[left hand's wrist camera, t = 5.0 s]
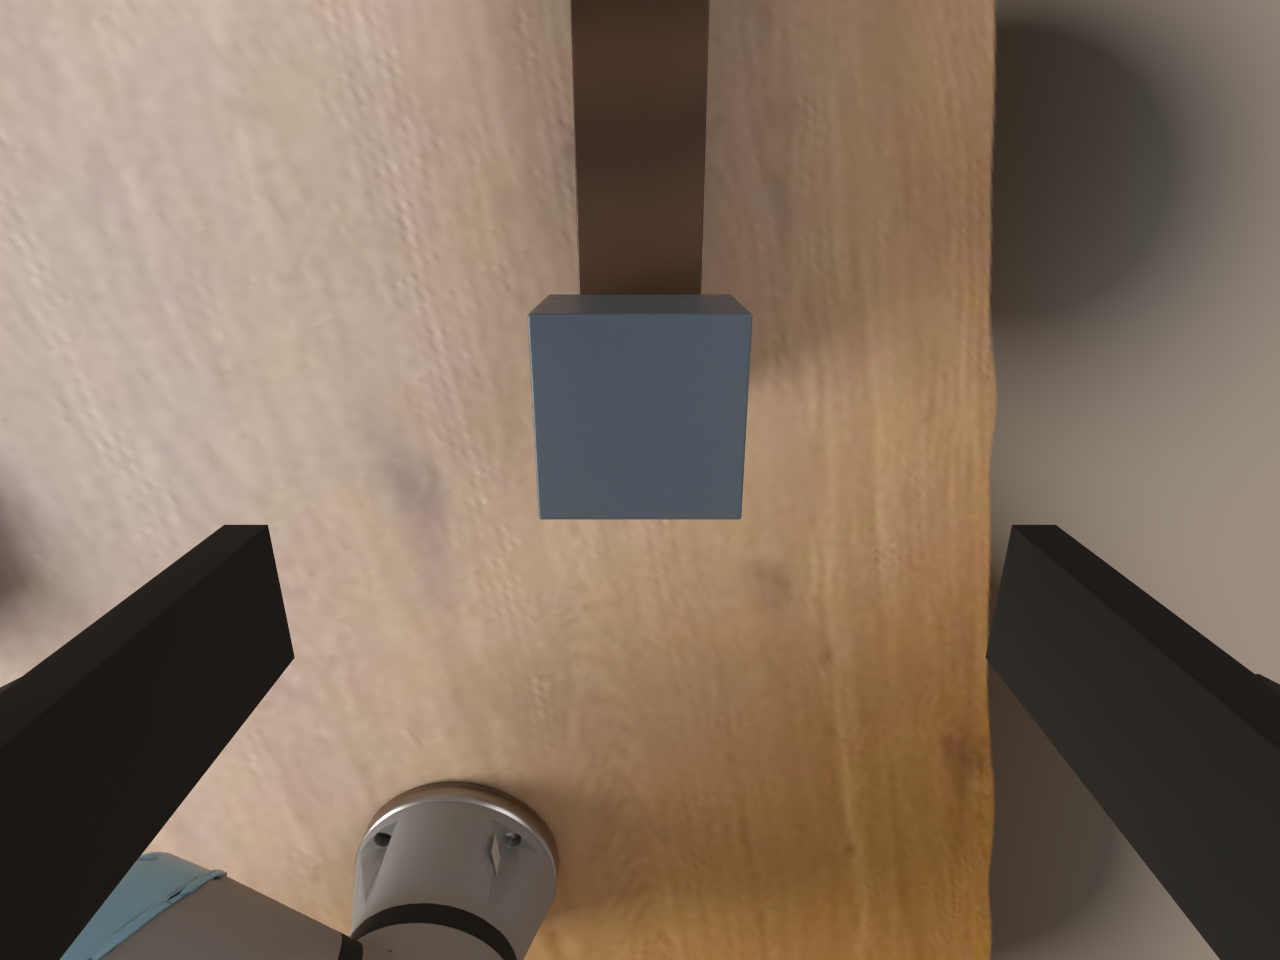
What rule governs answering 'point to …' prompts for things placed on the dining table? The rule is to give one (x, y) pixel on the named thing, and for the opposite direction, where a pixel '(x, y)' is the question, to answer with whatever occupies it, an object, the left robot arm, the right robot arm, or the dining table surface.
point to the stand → (640, 144)
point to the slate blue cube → (640, 405)
